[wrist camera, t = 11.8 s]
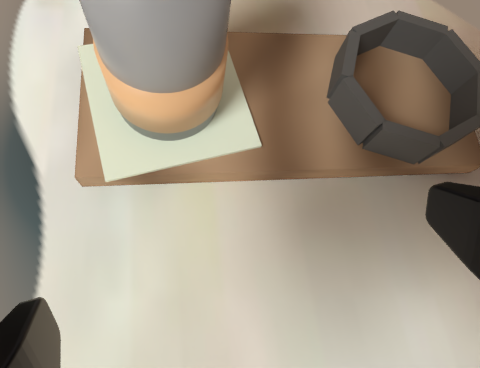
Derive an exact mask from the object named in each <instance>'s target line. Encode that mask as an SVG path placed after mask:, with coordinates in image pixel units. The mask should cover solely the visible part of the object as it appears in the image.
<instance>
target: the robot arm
mask: <svg viewBox="0 0 480 368" xmlns="http://www.w3.org/2000/svg"><path fill="white" fill-rule="evenodd" d="M426 219H427V222H428V223H429V225H430V226H431V227H432V228H433V229H434V230H435V232H436V233H437V234H438V235H439V236H440V237H441V238H442V240H443V241H444V242H445V243H446V244H447V245H448V246H449V247H450V249H451V250H452V251H453V252H454V253H455V254H456V255H457V257H458V258H459V259H460V260H461V261H462V262H463V263H464V264H465V265H466V267H467V268H468V269H469V270H470V271H471V272H472V273H473V274H474V275H475V276H476V277H477V278H478V279H479V280H480V187H478V186H472V185H465V184H458V183H452V182H444V183H440V184H437V185H433V186H432V187H431V188H430V189H429V192H428V199H427V207H426ZM60 346H61V339H60V331H59V327H58V325H57V323H56V321H55V318H54V316H53V314H52V312H51V310H50V308H49V306H48V304H47V302H46V300H45V299H44V298H41V297H38V298H35V299H31V300H28V301H24V302H21V303H19V304H18V305H17V306H16V307H15V308H14V309H13V310H12V311H11V312H10V313H9V314H8V315H7V316H6V317H5V318H4V319H3V320H2V321H1V322H0V368H60Z"/></svg>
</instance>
